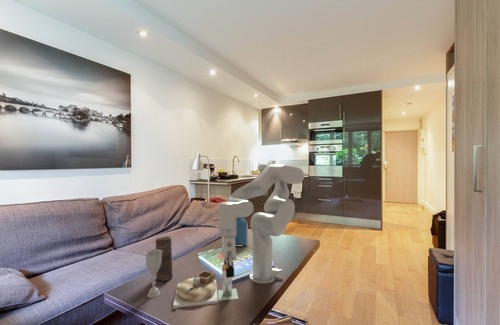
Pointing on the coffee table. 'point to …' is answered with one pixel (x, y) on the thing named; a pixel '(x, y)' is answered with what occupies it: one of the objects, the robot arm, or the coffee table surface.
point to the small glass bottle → (226, 282)
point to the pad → (233, 296)
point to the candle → (165, 258)
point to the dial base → (182, 303)
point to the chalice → (153, 269)
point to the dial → (197, 287)
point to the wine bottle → (241, 232)
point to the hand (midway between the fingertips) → (229, 271)
